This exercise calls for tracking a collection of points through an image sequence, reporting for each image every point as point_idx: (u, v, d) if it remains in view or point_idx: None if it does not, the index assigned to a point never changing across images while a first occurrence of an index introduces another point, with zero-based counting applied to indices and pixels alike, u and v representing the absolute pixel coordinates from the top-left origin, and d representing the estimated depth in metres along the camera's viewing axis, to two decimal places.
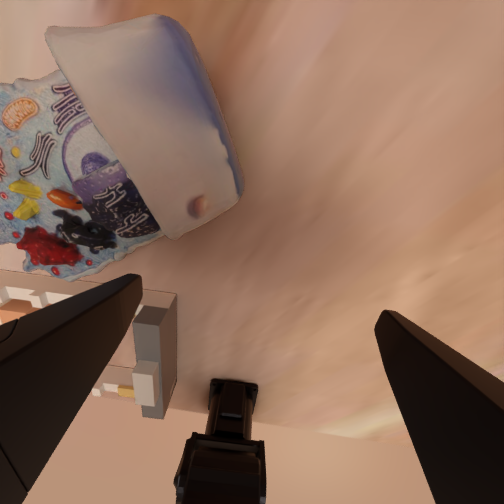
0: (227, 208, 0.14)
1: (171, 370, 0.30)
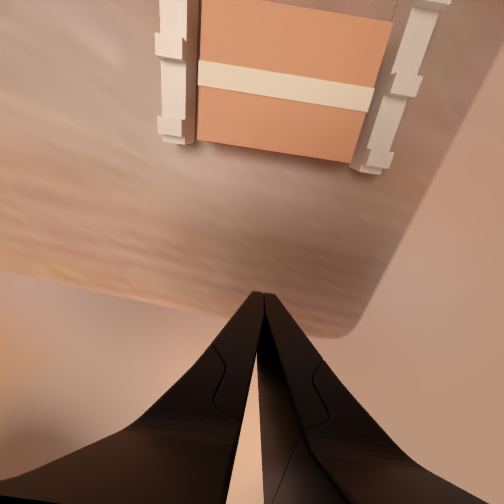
0: None
1: None
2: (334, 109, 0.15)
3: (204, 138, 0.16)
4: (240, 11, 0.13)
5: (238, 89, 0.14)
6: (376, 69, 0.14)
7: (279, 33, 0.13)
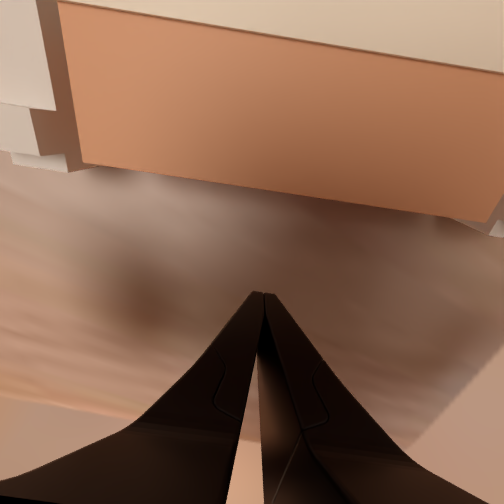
0: None
1: None
2: (473, 76, 0.05)
3: (101, 159, 0.06)
4: None
5: (181, 12, 0.05)
6: None
7: None
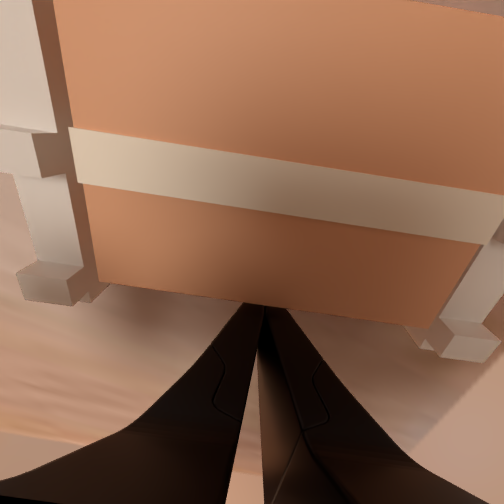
0: None
1: None
2: (406, 236, 0.06)
3: (114, 280, 0.07)
4: (163, 1, 0.04)
5: (178, 191, 0.06)
6: None
7: (275, 63, 0.05)
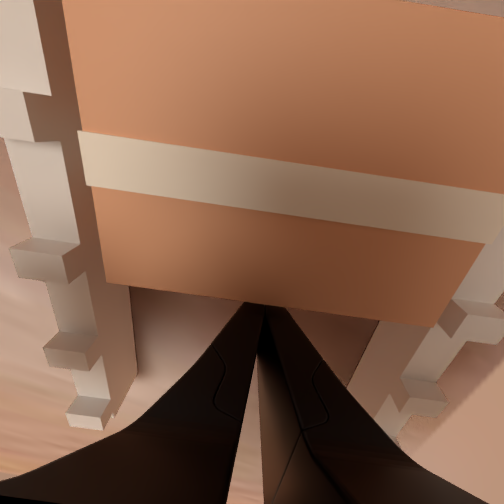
0: None
1: None
2: (412, 236, 0.06)
3: (121, 281, 0.07)
4: (172, 6, 0.04)
5: (185, 193, 0.06)
6: None
7: (282, 66, 0.05)
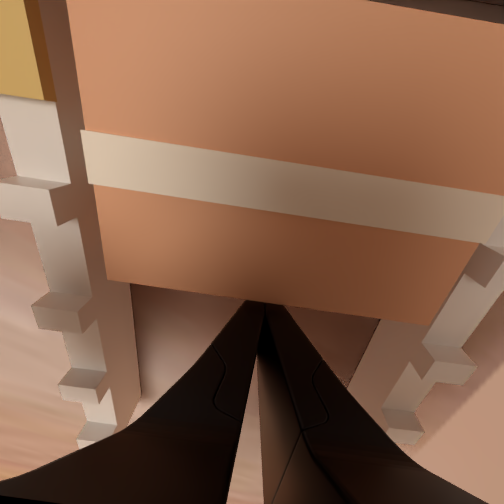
0: None
1: None
2: (408, 235, 0.06)
3: (122, 278, 0.07)
4: (174, 9, 0.05)
5: (186, 192, 0.06)
6: None
7: (281, 68, 0.05)
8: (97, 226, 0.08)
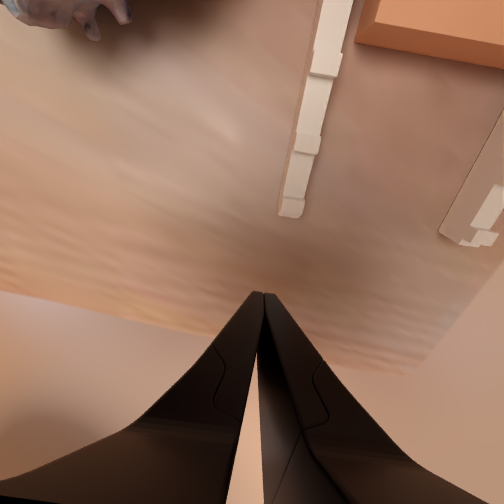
0: None
1: None
2: None
3: (384, 20, 0.12)
4: None
5: None
6: None
7: None
8: None
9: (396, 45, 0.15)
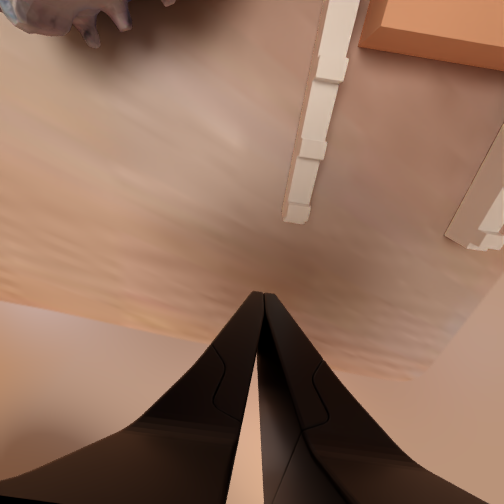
0: None
1: None
2: None
3: (391, 24, 0.12)
4: None
5: None
6: None
7: None
8: None
9: (401, 49, 0.14)
